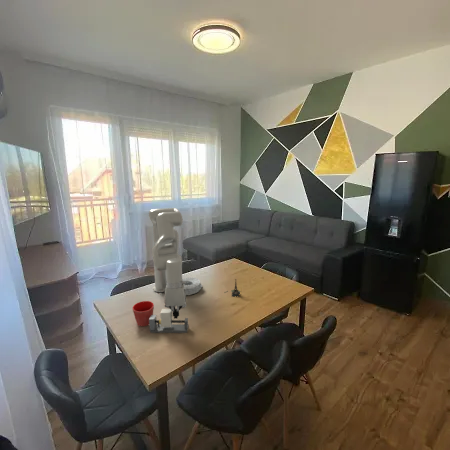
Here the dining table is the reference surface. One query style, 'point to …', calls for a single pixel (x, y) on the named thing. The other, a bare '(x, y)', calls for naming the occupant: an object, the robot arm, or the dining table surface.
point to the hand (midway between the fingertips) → (176, 317)
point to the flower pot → (143, 312)
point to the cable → (192, 285)
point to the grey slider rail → (173, 329)
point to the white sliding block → (166, 317)
